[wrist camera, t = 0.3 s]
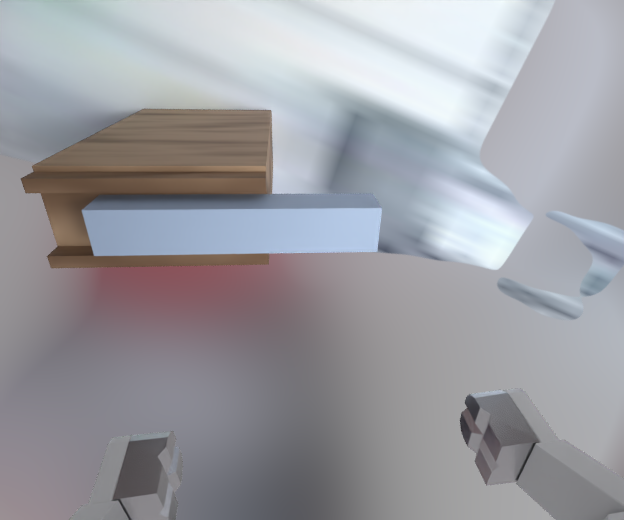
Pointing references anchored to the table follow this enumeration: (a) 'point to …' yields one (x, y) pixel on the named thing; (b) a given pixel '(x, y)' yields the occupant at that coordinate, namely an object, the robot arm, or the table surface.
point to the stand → (154, 175)
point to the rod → (232, 224)
